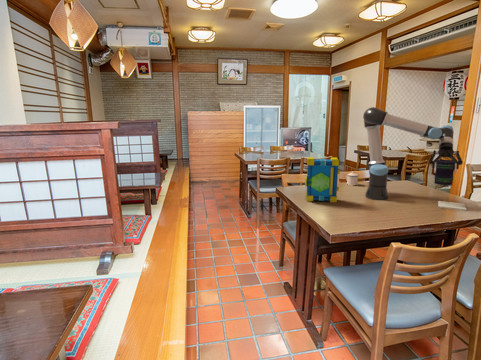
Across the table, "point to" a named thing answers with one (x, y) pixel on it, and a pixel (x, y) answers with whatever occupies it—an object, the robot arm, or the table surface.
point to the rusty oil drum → (444, 172)
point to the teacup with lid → (352, 179)
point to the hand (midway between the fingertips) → (445, 172)
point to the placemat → (452, 205)
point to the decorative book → (322, 179)
